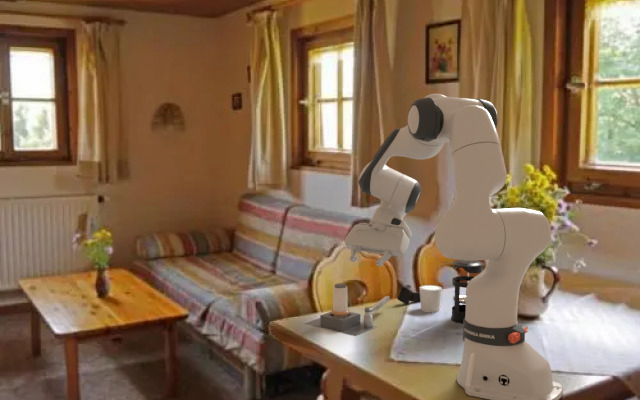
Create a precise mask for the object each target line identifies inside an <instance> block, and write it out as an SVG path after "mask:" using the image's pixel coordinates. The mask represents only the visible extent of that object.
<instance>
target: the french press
mask: <svg viewBox="0 0 640 400" xmlns="http://www.w3.org/2000/svg"><path fill="white" fill-rule="evenodd" d="M452 265H453V270H456V269H460V268H461V269H463V270H464V272H466V273H467V275H460V276H454V277H453V278H452V279H451V281H452V283H451V284H452V285H453V286H454V296H453V297H452V298H453V301H454V306H452V307H451V316H450V320H451V321H452V322H454V323H457V324H461V325H463V321H464V318H465V313H466V294H460V293H461V288H467V285H468V283H469V282H470V280H471V279H473V278H474V277H475V276H471V275H470V274H472V275H473V274H480V273H481V272H482V271H483V270H484V269H483V268H484V266H485V263H484V262H483V261H481V260H473V261H464V260H454V261H453V262H452ZM462 281H464V282H462ZM465 281H467V282H465Z"/></svg>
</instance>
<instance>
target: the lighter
mask: <svg viewBox="0 0 640 400" xmlns="http://www.w3.org/2000/svg"><path fill="white" fill-rule="evenodd" d="M411 288H412V285H410V284H405V286H402V287H401V289H400V291H399V294H398V296H397V298H396V299H397V300H398V301H399V302H401V303H403V304H404V305H409V303H410V302H412V303H416V304H417V303H421V302H420V292H413V290H412V289H411Z"/></svg>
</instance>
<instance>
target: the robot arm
mask: <svg viewBox="0 0 640 400" xmlns="http://www.w3.org/2000/svg"><path fill="white" fill-rule="evenodd" d="M498 121H499V119H498V113H497V108H495V106H494V104H493V103H492V102H490V101H489V100H484V99H482V98H475V99H473V98H465V97H455V96H446V95H444V94H441V93H430V94H428V95H426V96H424V97H422V98H418V99H416V100H414V101H413V102H412V103H411V105H410V107H409V109H408V114H407V125H406V126H404V127H401V128H395V129H394V130H392V132H391V133H389V134H388V136H387V137H386V139H385V140H383V142H382V144H381V146H380V147H379V148H378V150H377V151H376V153H375V154H374V156H373V157H372V159H371V160H370V161H369V162H368V163H367V164H366V165H365V166H364V167H363V169H362V171H361V172H360V173H359V177H358V181H357V183H358V186H359V188H360V189H361V192H362V193H364V194H366V195H369V196H373V197H375V198H377V199H379V200H380V204H379V206H378V207H377V208H376V209H375V212H374V213H373V214H372V217H371V218H370V221H369V223H368V222H366V223H365V222H359V223H357V224H354V226H353V227H352V228H351V230H350V231H349V232H348V234H347V235H346V237H345V239H344V241H343V242H344V245H345V246H346V248H347V249H348V250H350V251H351V253H350V255H349V260H350V262H353V263H357V261H358V259H359V257H358V256H357V254H359V252H364V253H372V254H380V255H381V257H377V258H376V261H375V265H376V266H377V267H383V266H384V264H385V263H386V262H387V261H388V260H390V259H391V257H392V256H393V257H399V258H400V257H402V256H404V255H405V254H406V252H407V250H408V247H409V245H410V239H411V238H412V236H413V232H412V231H411V229H410V228H409V226H408V224H407V223H406V221H404V217H405V216H407V214H409V213H411V212H413V211H414V210H415V207H416V204H417V202H418V201H419V199H420V197H421V195H422V193H423V192H422V188H421V185H420V183H419V181H418V180H416V179H414V177H410V176H408V175H407V174H404V173H402V172H400V171H397V170H396V169H393V168H391V167H390V166H388V165H387V162H388V161H389V159H390V158H392V157H402V158H403V157H404V158H409V159H412V160H417V161H418V160H428V159H432V158H434V157H436V156H437V155H438V154H439V153H440V151H441V150H442V149H443V147H444V146H445V144H446V143H450V144H449V145H450V152H451V159H452V164H453V169H454V179H455V194H454V199H453V201H452V204H451V205H450V207H449V208H448V210H447V211H446V212H445V213H444V214H443V215H442V216H441V217H440V219H439V220H438V221H437V223H436V227H435V229H434V240H435V245H436V248H437V249H438V251H439V252H440V253H441V254H442V256H444V257H445V258H447V259H453V260H456V261H458V260H464V261H473V260H475V261H487V260H488V262H487V265H486V266H485V268H484V269H483V271H482V272H480V273H478V274H477V275H475V276H473V277H474V278H473V279H471V280H470V281H469V283H468V285H467V288H466V289H465V295H466V304H465V305H466V313H465V318H464V321H463V324H462V339H463V349H462V358H461V363H460V367H459V371H458V374H457V377H456V382H457V384H458V385H459V386H461V388H463V389H464V392H465V394H466V395H468V396H470V397H475V398H481V399H486V400H560V399H561V398H562V396H563V395H564V387H563V386H562V384H561V383H559V382H556V381H554V380H553V374H552V367H551V365H550V363H549V361H548V360H547V359H546V358H545V357H544V356H542V354H540V353H539V352H538V351H537V350H536V349H535V348H534V347H533V346H531V345H530V344H529V343H528V341H526V338H525V337H526V334H527V333H528V332H529V330H528V329H529V327H528V326H525V327H524V328H523V327H522V326H521V324H520V322H519V321H518V305H519V296H520V295H519V294H520V289H521V284H522V281H523V279H524V276H525V274H526V273H527V271H528V270H529V267H530V266H531V264H532V263H533V262H534V261H535V259H536V258H538V256H540V255H541V254H542V253H544V252H545V251H546V249H547V248H548V246H549V244H550V241H551V239H552V229H551V225H550V222H549V220H548V218H547V217H546V215H544V214H543V213H542V212H541V211H539V210H536V209H535V210H534V209H530V208H523V207H509V208H508V207H507V208H505V207H504V208H491V204H490V203H491V202H490V197H491V196H494V195H495V194H496V193H498V192H499V191H500V190H501V189H502V188H503V187H504V186H505V185H506V182H507V179H508V173H507V168H506V164H505V159H504V154H503V150H502V146H501V145H502V144H501V141H500V140H501V139H500V136H499V133H498V131H497V127H498Z"/></svg>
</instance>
